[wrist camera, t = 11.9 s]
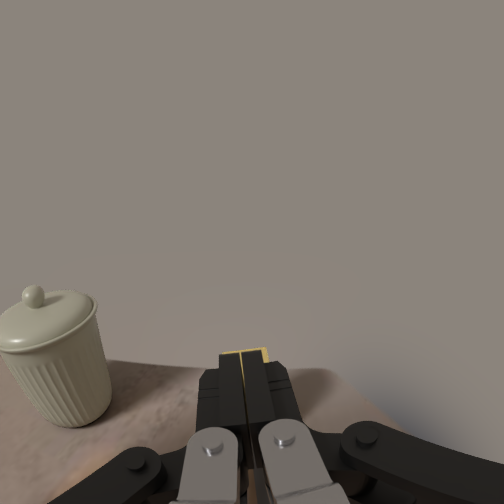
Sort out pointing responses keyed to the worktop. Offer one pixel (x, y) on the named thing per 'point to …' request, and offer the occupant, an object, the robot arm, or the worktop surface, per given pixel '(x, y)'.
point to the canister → (57, 355)
